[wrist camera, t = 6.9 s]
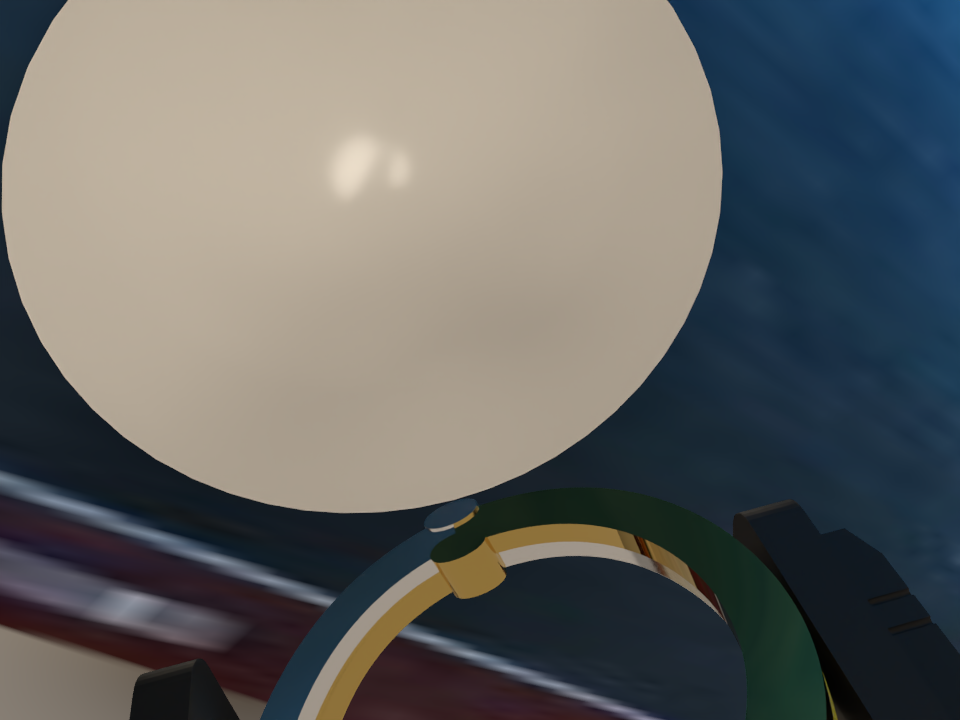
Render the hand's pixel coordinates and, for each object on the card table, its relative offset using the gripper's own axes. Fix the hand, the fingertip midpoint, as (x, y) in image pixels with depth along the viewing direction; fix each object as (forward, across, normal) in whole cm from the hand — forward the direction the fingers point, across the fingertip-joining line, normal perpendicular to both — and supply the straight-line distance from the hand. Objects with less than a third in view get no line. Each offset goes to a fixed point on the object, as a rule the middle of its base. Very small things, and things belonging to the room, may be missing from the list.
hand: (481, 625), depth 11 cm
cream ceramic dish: (+12, 0, 0) cm, 12 cm away
